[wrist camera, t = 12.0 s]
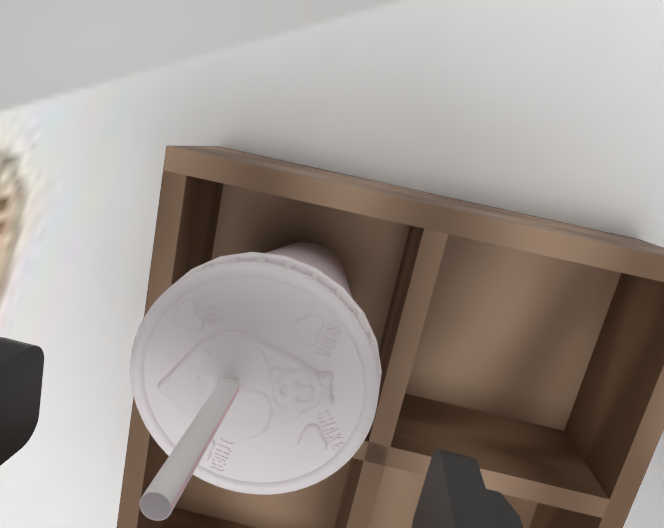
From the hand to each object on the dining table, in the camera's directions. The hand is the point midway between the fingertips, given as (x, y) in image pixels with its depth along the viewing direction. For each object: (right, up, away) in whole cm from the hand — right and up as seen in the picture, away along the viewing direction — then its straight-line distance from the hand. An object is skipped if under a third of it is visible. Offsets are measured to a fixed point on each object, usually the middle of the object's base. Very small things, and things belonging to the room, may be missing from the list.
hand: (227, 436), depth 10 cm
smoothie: (+1, +3, +12) cm, 12 cm away
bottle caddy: (+4, -2, +14) cm, 15 cm away
